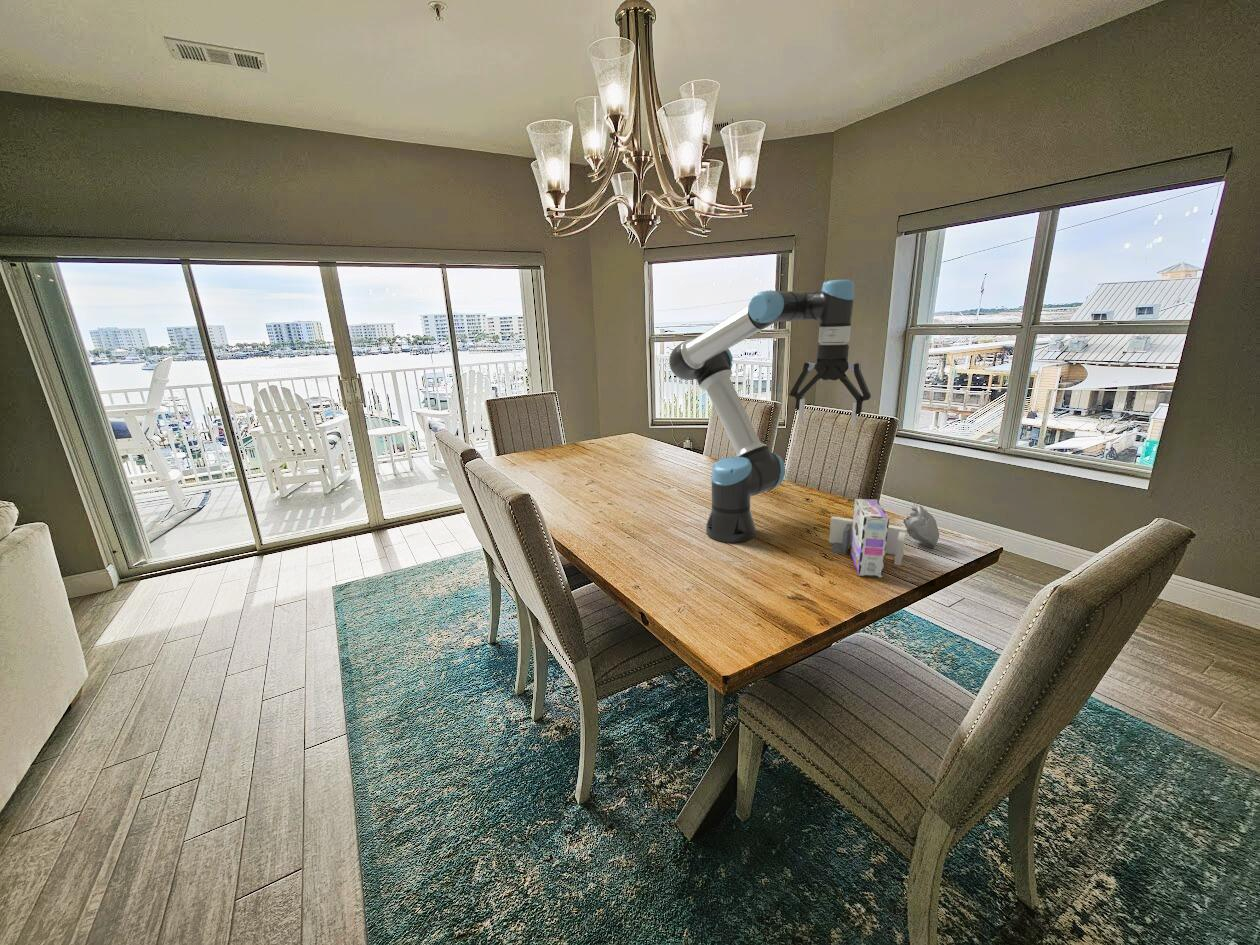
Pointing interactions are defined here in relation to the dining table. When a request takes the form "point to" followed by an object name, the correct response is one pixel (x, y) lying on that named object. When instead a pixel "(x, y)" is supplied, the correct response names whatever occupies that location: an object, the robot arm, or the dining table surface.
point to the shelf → (892, 544)
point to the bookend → (843, 546)
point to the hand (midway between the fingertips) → (826, 424)
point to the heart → (922, 526)
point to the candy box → (869, 537)
